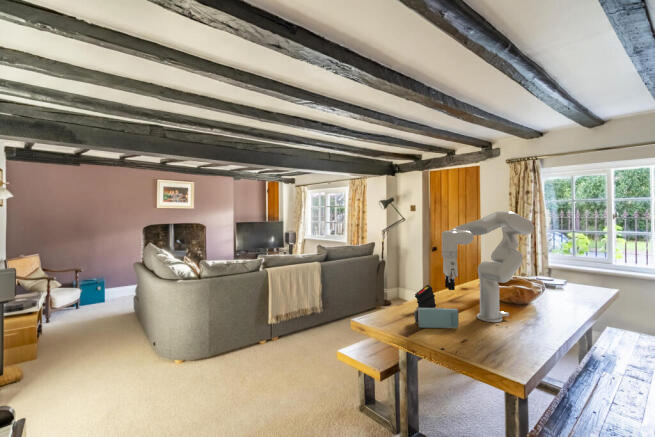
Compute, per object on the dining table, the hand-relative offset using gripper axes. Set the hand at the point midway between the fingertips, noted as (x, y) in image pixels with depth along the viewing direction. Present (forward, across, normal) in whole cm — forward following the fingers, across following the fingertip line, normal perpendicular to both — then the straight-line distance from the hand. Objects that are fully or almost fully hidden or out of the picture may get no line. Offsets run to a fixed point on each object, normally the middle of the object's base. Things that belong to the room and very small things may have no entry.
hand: (449, 288), depth 161 cm
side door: (+19, -6, +8) cm, 21 cm away
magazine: (+20, +22, +8) cm, 30 cm away
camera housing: (+19, -1, +10) cm, 22 cm away
